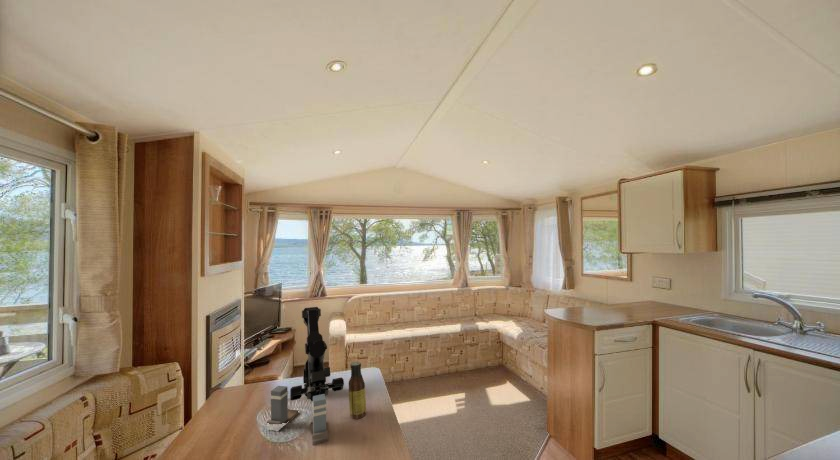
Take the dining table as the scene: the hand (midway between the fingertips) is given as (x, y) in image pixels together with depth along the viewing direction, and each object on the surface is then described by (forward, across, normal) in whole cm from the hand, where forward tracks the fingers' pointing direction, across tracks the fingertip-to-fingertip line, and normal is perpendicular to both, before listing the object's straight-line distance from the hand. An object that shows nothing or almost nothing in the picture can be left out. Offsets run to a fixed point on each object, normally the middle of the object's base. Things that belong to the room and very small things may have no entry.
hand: (319, 413), depth 107 cm
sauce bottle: (+1, +14, +8) cm, 17 cm away
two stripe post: (+5, 0, +2) cm, 6 cm away
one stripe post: (-4, -13, +12) cm, 18 cm away
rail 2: (+5, 0, +4) cm, 7 cm away
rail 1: (-4, -12, +14) cm, 19 cm away
